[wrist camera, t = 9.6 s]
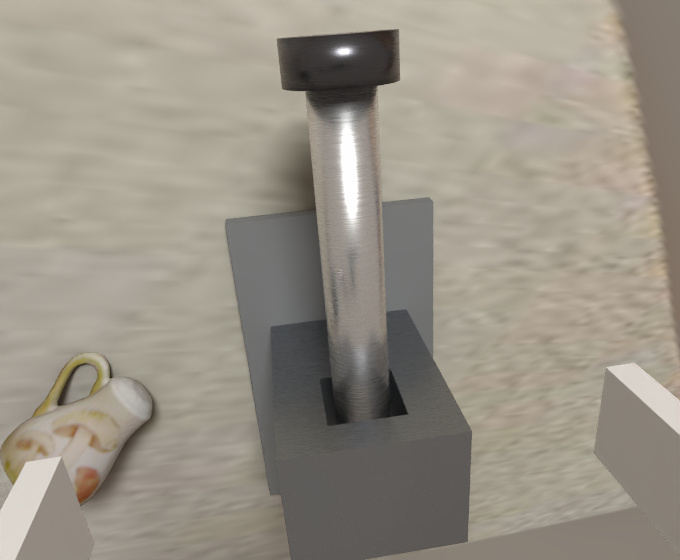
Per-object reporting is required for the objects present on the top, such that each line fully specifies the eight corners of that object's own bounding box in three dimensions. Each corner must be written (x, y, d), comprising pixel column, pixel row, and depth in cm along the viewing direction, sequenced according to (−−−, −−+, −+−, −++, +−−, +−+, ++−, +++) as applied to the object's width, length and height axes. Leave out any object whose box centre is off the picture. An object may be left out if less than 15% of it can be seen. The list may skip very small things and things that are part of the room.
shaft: (319, 441, 35) (328, 504, 31) (275, 38, 25) (278, 39, 21) (397, 430, 36) (418, 489, 31) (384, 29, 26) (412, 28, 21)
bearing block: (282, 407, 44) (293, 571, 30) (270, 319, 40) (275, 460, 27) (405, 390, 44) (467, 541, 31) (403, 303, 41) (471, 431, 28)
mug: (187, 395, 42) (135, 529, 36) (102, 406, 47) (42, 528, 40) (118, 340, 38) (45, 484, 31) (31, 358, 42) (-50, 488, 36)
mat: (270, 486, 47) (270, 495, 46) (225, 219, 37) (225, 223, 36) (429, 461, 48) (432, 470, 47) (428, 197, 38) (433, 201, 37)
